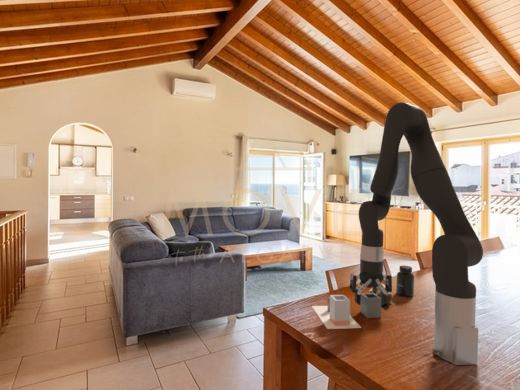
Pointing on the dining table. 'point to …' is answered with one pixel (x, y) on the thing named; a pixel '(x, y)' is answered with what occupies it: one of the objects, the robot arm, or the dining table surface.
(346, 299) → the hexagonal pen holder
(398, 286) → the supplement bottle
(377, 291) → the skull
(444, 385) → the dining table surface
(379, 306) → the charcoal sleeve
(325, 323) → the pin board
